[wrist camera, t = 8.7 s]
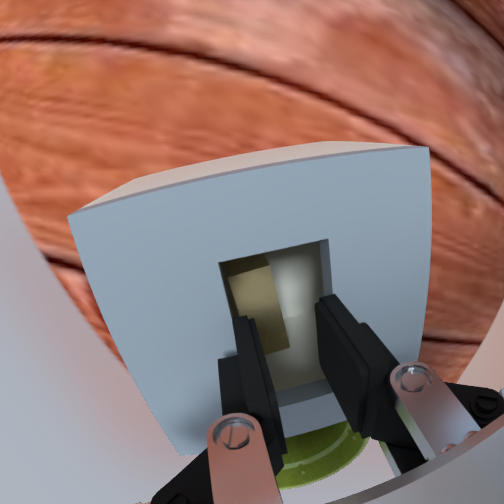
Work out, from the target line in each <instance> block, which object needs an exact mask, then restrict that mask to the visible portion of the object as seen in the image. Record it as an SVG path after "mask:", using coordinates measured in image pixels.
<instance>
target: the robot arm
mask: <svg viewBox="0 0 504 504" xmlns="http://www.w3.org/2000/svg"><path fill="white" fill-rule="evenodd" d="M315 316H316V328H317V341H318V355H319V363H320V366H321V369H322V371H323V373H324V375H325V377H326V379H327V381H328V383H329V385H330V387H331V389H332V391H333V393H334V395H335V397H336V399H337V401H338V403H339V405H340V407H341V409H342V411H343V413H344V415H345V417H346V419H347V421H348V423H349V425H350V427H351V429H352V431H353V432H354V433H357V432H359V433H360V435H361V437H362V439H365V438H368V437H370V436H371V438H372V439H374V440H378V441H379V444H380V446H381V448H382V450H383V452H384V454H385V456H386V458H387V460H388V463H389V465H390V467H391V468H392V471H393V473H394V475H395V477H396V478H393V479H391V480H389V481H386V482H384V483H382V484H379V485H377V486H374V487H372V488H369V489H367V490H364V491H361V492H359V493H356V494H353V495H350V496H348V497H345V498H342V499H339V500H336V501H332V502H329V503H326V504H504V389H501V390H500V392H499V393H498V392H497V391H495V390H493V389H488V388H483V387H474V386H468V385H460V384H454V383H448V382H444V381H443V380H442V379H441V378H440V377H439V375H438V374H437V373H436V372H435V371H434V369H432V368H431V367H430V366H429V365H427V364H425V363H422V362H417V361H411V362H406V363H402V364H400V363H399V362H398V361H397V359H396V358H395V357H394V356H393V354H392V353H391V352H390V351H389V350H388V348H387V347H386V346H385V345H384V343H383V342H382V341H381V340H380V339H379V337H378V336H377V335H376V334H375V332H374V331H373V330H372V329H371V328H370V326H369V325H368V324H367V323H366V322H362V323H358V321H357V320H356V319H355V318H354V316H353V315H352V314H351V313H350V311H349V310H348V309H347V308H346V306H345V305H344V304H343V303H342V302H341V300H340V299H339V298H338V297H337V295H336V294H331V295H328V296H324V297H320V298H319V302H317V303H315ZM232 324H233V330H234V336H235V342H236V348H237V354H238V355H235V356H230V357H225V358H220V359H218V373H219V384H220V395H221V406H222V417H220V418H218V419H217V420H215V421H214V422H213V423H212V424H211V425H210V427H209V429H208V431H207V448H206V449H205V450H204V451H203V452H201V453H200V454H199V455H198V456H197V457H196V458H195V459H194V460H193V461H192V462H191V463H190V464H189V465H188V466H186V467H185V468H184V469H183V470H182V471H181V472H180V473H179V474H178V475H177V476H176V477H174V478H173V479H172V480H171V481H170V482H169V483H167V484H166V485H165V486H164V487H163V488H162V489H160V490H159V491H158V492H157V493H156V494H155V495H154V497H153V498H152V500H151V502H148V503H145V504H283V501H282V498H281V494H280V491H279V487H278V484H277V480H276V476H277V475H278V473H279V472H280V471H281V470H282V468H283V467H284V463H283V458H282V455H283V454H288V452H287V447H286V442H285V437H284V432H283V427H282V421H281V416H280V411H279V406H278V401H277V397H276V393H275V389H274V386H273V383H272V379H271V376H270V372H269V369H268V365H267V362H266V358H265V355H264V351H263V348H262V344H261V341H260V337H259V334H258V330H257V327H256V323H255V319H254V318H250V319H248V317H247V315H245V316H240V317H236V318H232ZM136 504H142V503H141V502H139V503H136Z"/></svg>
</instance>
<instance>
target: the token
mask: <svg viewBox="0 0 504 504" xmlns="http://www.w3.org/2000/svg"><path fill="white" fill-rule="evenodd" d="M225 266H226V273H227V278H228V281H229V284H230V287H231V290H232V293H233V296H234V300H235V303H236V306H237V309H238V312H239V315H240V316H245V315H247V317H248V319H250V318H254V319H255V323H256V327H257V330H258V334H259V337H260V341H261V344H262V348H263V351H264V355H268V354H271V353H275V352H278V351H281V350H284V349H288V348H290V344H289V340H288V336H287V332H286V328H285V324H284V320H283V316H282V312H281V308H280V304H279V300H278V296H277V292H276V288H275V284H274V280H273V276H272V272H271V269H270V265H269V263H268V261H267V259H266V257H265V255H264V253H260V254H255V255H250V256H246V257H241V258H237V259H232V260H227V261H225Z"/></svg>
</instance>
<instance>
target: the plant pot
mask: <svg viewBox="0 0 504 504" xmlns="http://www.w3.org/2000/svg"><path fill="white" fill-rule="evenodd" d="M369 438H370V437H368V438H365V439H362V437H361V435H360V433H359V432H357V433H354V432H353V431H352V429H351V427H350V425H349V423H348V421H347V420H345V421H342V422H339V423H336V424H333V425H330V426H327V427H324V428H320V429H317V430H313V431H310V432H306V433H303V434H299V435H295V436H291V437H287V438H285V442H286V447H287V452H288V454H283V455H282V458H283V463H284V467H283V468H282V470H281V471H280V472H279V473H278V475H277V476H276V480H277V484H278V487H279V490H285V489H291V488H297V487H301V486H305V485H308V484H311V483H314V482H317V481H319V480H322V479H324V478H327V477H329V476H331V475H333V474H335V473H336V472H338V471H339V470H341V469H342V468H344V467H345V466H347V465H348V464H350V463H351V462H352V461H353V460H354V459H355V458H356V457H357V456H358V455H359V454H360V453H361V452H362V451H363V449H364V447H365V446H366V444H367V443H368V440H369Z"/></svg>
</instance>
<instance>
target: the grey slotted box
mask: <svg viewBox="0 0 504 504" xmlns="http://www.w3.org/2000/svg"><path fill="white" fill-rule="evenodd" d="M67 218H68V221H69V225H70V228H71V231H72V235H73V238H74V241H75V244H76V247H77V250H78V253H79V256H80V259H81V262H82V264H83V267H84V270H85V273H86V275H87V278H88V281H89V283H90V286H91V289H92V291H93V294H94V296H95V299H96V301H97V303H98V306H99V308H100V311H101V313H102V315H103V318H104V320H105V322H106V324H107V327H108V329H109V331H110V333H111V336H112V338H113V340H114V342H115V344H116V346H117V348H118V350H119V352H120V354H121V356H122V358H123V360H124V362H125V364H126V366H127V368H128V370H129V372H130V374H131V376H132V378H133V380H134V382H135V383H136V385H137V387H138V389H139V391H140V392H141V394H142V396H143V398H144V400H145V401H146V403H147V405H148V406H149V408H150V410H151V412H152V413H153V415H154V417H155V418H156V420H157V421H158V423H159V425H160V426H161V428H162V429H163V431H164V433H165V434H166V436H167V437H168V439H169V440H170V442H171V443H172V445H173V446H174V448H175V449H176V451H177V452H178V454H179V455H180V456H184V455H194V454H200V453H201V452H203V451H204V450H205V449H206V448H207V431H208V429H209V427H210V425H211V424H212V423H213V422H214V421H215V420H217V419H218V418H220V417H222V406H221V395H220V384H219V373H218V359H220V358H225V357H230V356H235V355H238V354H237V348H236V342H235V336H234V330H233V324H232V318H236V317H240V315H239V312H238V309H237V306H236V303H235V300H234V296H233V293H232V290H231V287H230V284H229V281H228V278H227V273H226V266H225V261H227V260H232V259H237V258H241V257H246V256H250V255H255V254H260V253H264V255H265V257H266V259H267V261H268V263H269V265H270V269H271V272H272V276H273V280H274V284H275V288H276V292H277V296H278V300H279V304H280V308H281V312H282V316H283V320H284V324H285V328H286V332H287V336H288V340H289V344H290V348H288V349H284V350H281V351H278V352H275V353H271V354H268V355H265V358H266V362H267V365H268V369H269V372H270V376H271V379H272V383H273V386H274V389H275V393H276V397H277V401H278V406H279V411H280V416H281V421H282V427H283V432H284V437H285V438H287V437H291V436H295V435H299V434H303V433H306V432H310V431H313V430H317V429H320V428H324V427H327V426H330V425H333V424H336V423H339V422H342V421H345V420H347V419H346V417H345V415H344V413H343V411H342V409H341V407H340V405H339V403H338V401H337V399H336V397H335V395H334V393H333V391H332V389H331V387H330V385H329V383H328V381H327V379H326V377H325V375H324V373H323V371H322V369H321V366H320V363H319V355H318V341H317V328H316V316H315V303H317V302H319V298H320V297H324V296H328V295H331V294H336V295H337V297H338V298H339V299H340V300H341V302H342V303H343V304H344V305H345V306H346V308H347V309H348V310H349V311H350V313H351V314H352V315H353V316H354V318H355V319H356V320H357V321H358V323H362V322H366V323H367V324H368V325H369V326H370V328H371V329H372V330H373V331H374V332H375V334H376V335H377V336H378V337H379V339H380V340H381V341H382V342H383V343H384V345H385V346H386V347H387V348H388V350H389V351H390V352H391V353H392V354H393V356H394V357H395V358H396V359H397V361H398V362H399V363H400V364H402V363H406V362H411V361H417V362H418V357H419V351H420V345H421V339H422V333H423V327H424V319H425V312H426V304H427V295H428V284H429V272H430V257H431V230H432V199H431V172H430V157H429V147H423V146H412V145H401V144H387V143H370V142H346V141H323V142H315V143H308V144H301V145H294V146H287V147H280V148H274V149H268V150H262V151H256V152H251V153H245V154H240V155H235V156H229V157H224V158H219V159H215V160H210V161H205V162H201V163H196V164H192V165H187V166H183V167H179V168H174V169H170V170H166V171H162V172H158V173H154V174H150V175H147V176H143V177H139V178H135V179H134V180H132V181H130V182H128V183H126V184H124V185H122V186H120V187H118V188H116V189H114V190H112V191H111V192H109V193H107V194H105V195H103V196H101V197H100V198H98V199H96V200H94V201H92V202H91V203H89V204H87V205H85V206H84V207H82V208H80V209H79V210H77V211H75V212H73V213H72V214H70V215H68V216H67Z"/></svg>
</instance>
